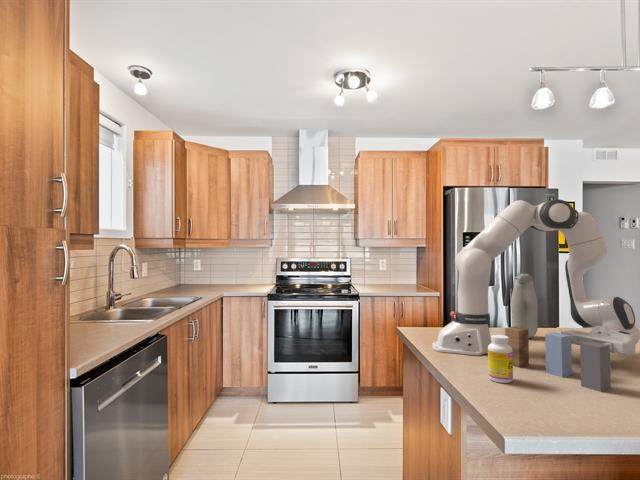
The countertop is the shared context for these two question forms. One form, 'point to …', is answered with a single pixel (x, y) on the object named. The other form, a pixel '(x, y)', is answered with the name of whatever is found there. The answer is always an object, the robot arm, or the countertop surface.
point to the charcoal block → (595, 366)
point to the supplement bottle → (500, 359)
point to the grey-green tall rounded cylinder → (524, 304)
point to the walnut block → (519, 345)
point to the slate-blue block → (558, 354)
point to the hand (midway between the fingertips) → (582, 344)
